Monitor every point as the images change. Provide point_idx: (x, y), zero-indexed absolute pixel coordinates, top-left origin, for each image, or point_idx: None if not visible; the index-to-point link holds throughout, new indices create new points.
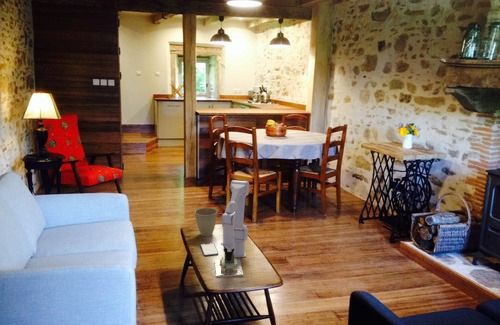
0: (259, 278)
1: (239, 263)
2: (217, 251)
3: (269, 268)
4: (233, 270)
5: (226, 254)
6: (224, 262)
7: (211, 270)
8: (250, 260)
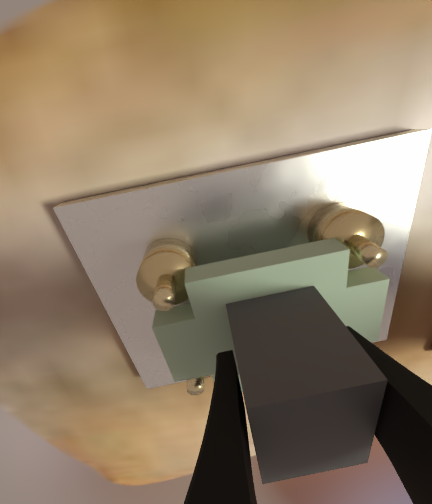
0: (141, 438)
1: None
2: None
3: None
4: None
5: (190, 501)
6: (254, 294)
7: (214, 119)
8: None
